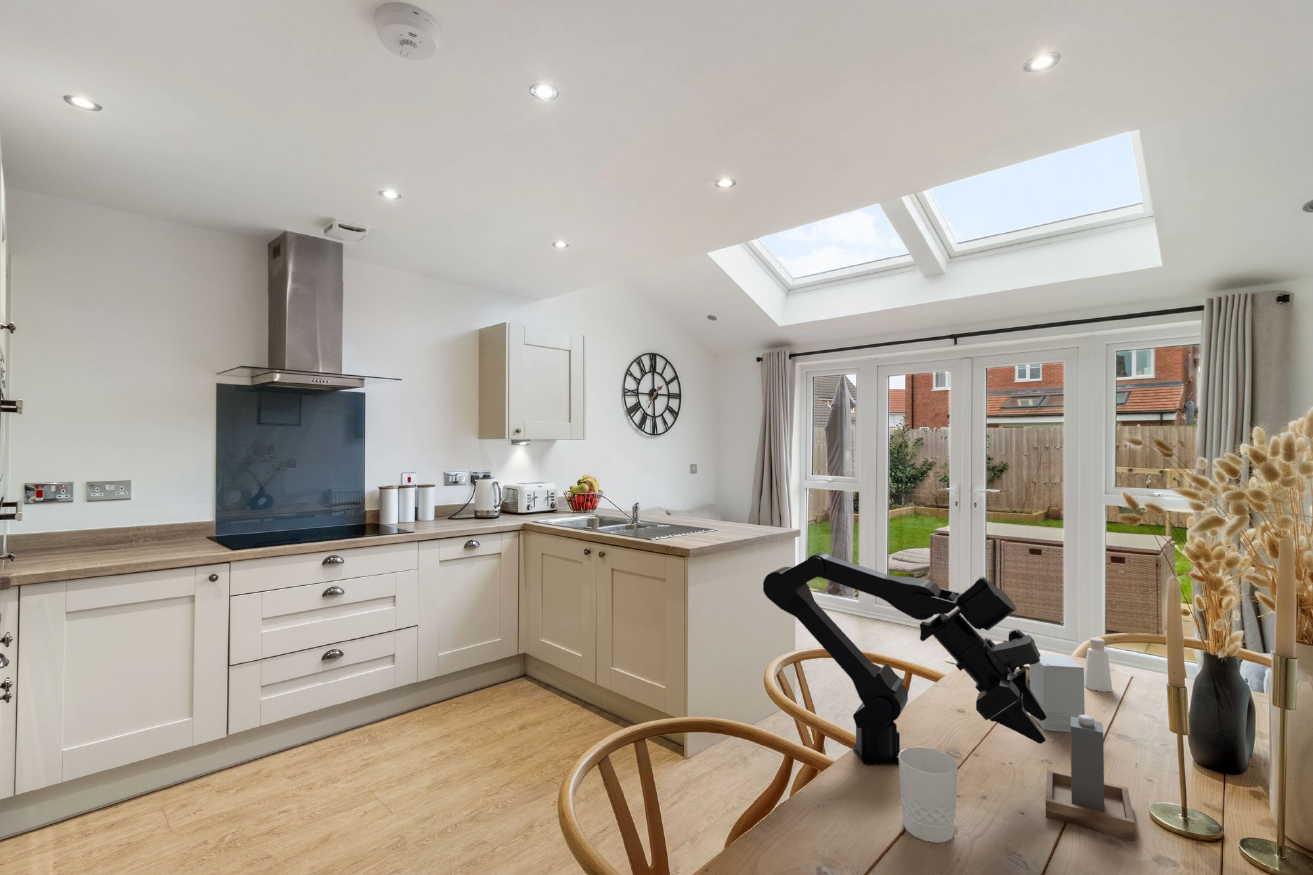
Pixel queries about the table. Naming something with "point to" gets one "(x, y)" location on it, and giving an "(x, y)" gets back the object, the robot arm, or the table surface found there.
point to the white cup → (928, 793)
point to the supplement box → (1058, 691)
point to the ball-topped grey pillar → (1087, 763)
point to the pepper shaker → (1097, 667)
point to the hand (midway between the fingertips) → (1043, 730)
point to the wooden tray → (1110, 821)
